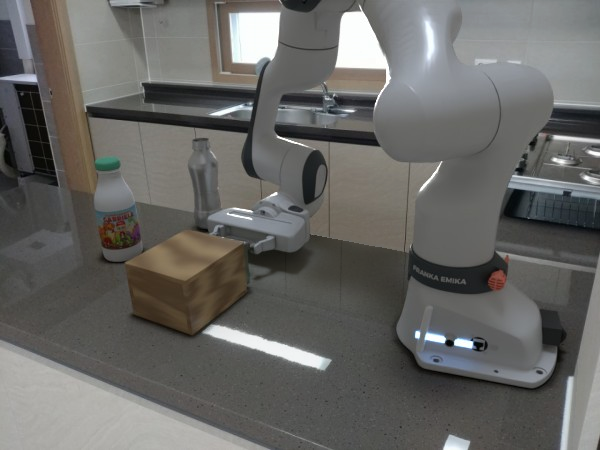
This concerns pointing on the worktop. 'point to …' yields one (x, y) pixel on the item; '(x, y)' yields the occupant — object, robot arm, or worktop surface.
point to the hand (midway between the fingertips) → (231, 244)
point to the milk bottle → (116, 213)
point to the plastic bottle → (204, 181)
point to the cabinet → (187, 280)
